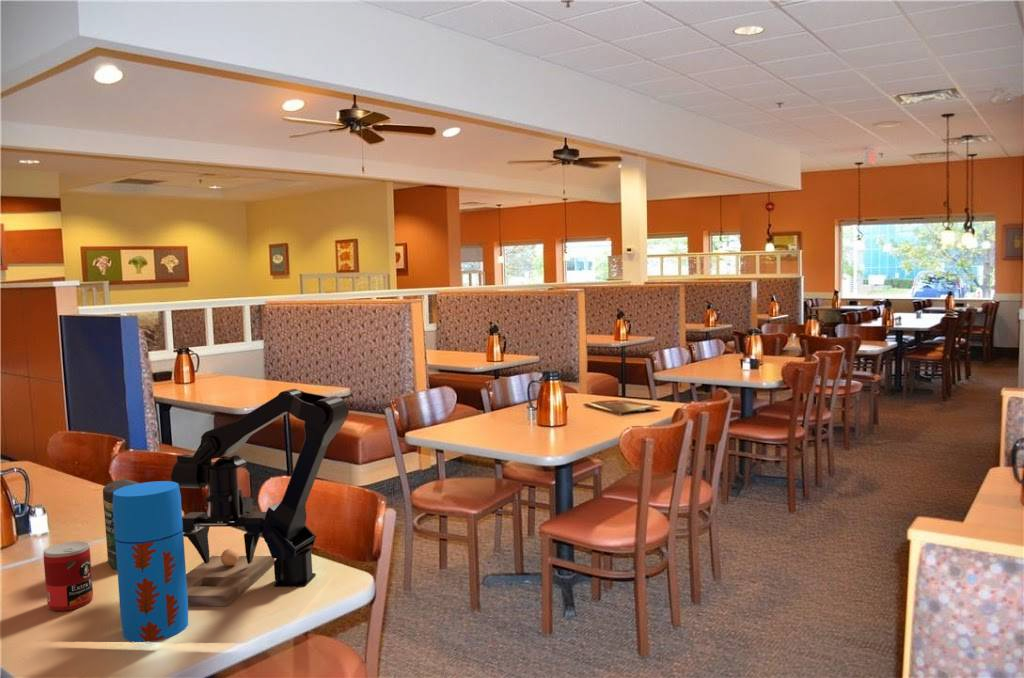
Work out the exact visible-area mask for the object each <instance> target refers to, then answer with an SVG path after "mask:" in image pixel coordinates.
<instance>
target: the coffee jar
mask: <svg viewBox="0 0 1024 678" xmlns="http://www.w3.org/2000/svg"><path fill="white" fill-rule="evenodd" d="M139 483H140V482H138V481H134V480H132V479H129V478H124V479H118V480H114V481H113V480H112V481H109V482H108V483H107V484H106V485H105V486H103V488H102V504H103V512H104V513H103V514H104V526H105V538H106V551H107V563H108V565H109V567H110V568H112V569H113V570H116V571H117V559H116V546H115V532H114V518H113V505H112V504H113V492H114V491H115V490H117V489H119V488H122V487H125V486H129V485H133V484H139Z"/></svg>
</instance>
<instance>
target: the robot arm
mask: <svg viewBox="0 0 1024 678" xmlns="http://www.w3.org/2000/svg"><path fill="white" fill-rule="evenodd" d="M349 411H350V410H349V407H348V405H347V403H346V402H345V400H344V399H342V398H341V397H340V396H335V395H333V396H326V395H323V394H316V393H312V392H306V391H304V390H299V389H297V388H292V389H287V390H283V391H281V392H279V393H278V395H276V396H274V397H272V398H271V399H270V400H268V401H266V402H264V403H263V404H261V405H260V406H258V407H257V408H255V409H253V410H252V411H250V412H249V413H247V414H245V415H243V416H242V417H240V418H238V419H237V420H235V421H232V422H230V423H227V424H223V425H221V426H218V427H215V428H212V429H209V430H207V431H205V432H204V433H203V434H202V435H201V437H200V444H199V446H198V448H197V449H196V450H195V453H194V454H193V455H192V454H188V453H186V454H185V453H183V454H182V453H181V454H179V455H177V456H176V459H177V460H176V462H175V464H174V466H173V468H172V471H171V474H170V478H171V479H170V480H171V482H176V483H178V484H179V488H185V489H187V488H189V489H203V488H206V487H207V486H208V496H206V497H205V499H206V503H209V511H210V513H209V514H210V515H208V514H207V512H205V511H190V512H188V513H187V514H184V515H182V522H183V537H185V538H187V539H188V540H189V542H191V544H192V546H194V548H195V549H196V552H197V553H198V554H199V556H200V557H201V559H202V561H203V562H205V564H207V563H209V558H210V546H209V544H210V543H209V531H210V528H211V527H214V528H215V527H216V528H219V527H229V528H231V527H233V528H234V527H235V528H237V527H238V528H239V527H240V528H243V527H244V530H245V531H246V532H245V533H244V534H243V540H244V549H245V556H246V559H247V563H248V564H250V563H251V562H252V559H253V556H255V552H256V549H257V546H258V543H259V540H260V537H262V538H263V539H264V542H265V543H266V545H267V548H268V550H269V553H270V556H272V558H275V561H274V565H273V568H274V569H273V572H274V581H275V583H274V584H273V587H274V588H304V587H307V585H309V583H311V581H312V580H313V579H315V578H316V576H317V574H316V573H315V572H314V573H313V560H312V558H313V557H312V547H314V545H315V543H316V541H317V540H316V539H317V535H316V534H315V533H314V532H313V531H312V530H311V529H310V528H309V527H308V526H307V525H306V522H307V509H306V504H307V501H308V499H309V496H310V493H311V491H312V488H313V486H314V482H315V481H316V479H317V475H318V473H319V470H320V468H321V465H322V461H323V459H324V457H325V455H326V451H327V449H328V446H329V444H330V442H331V441H332V440H333V439H334V438H335V436H337V434H338V432H339V431H340V430H341V429H342V427H343V425H344V423H345V422H346V420H347V418H348V416H349ZM287 414H290V415H292V416H293V417H295V418H296V419H298V420H300V421H303V422H304V423H303V428H304V437H305V438H304V440H303V444H302V446H301V449H300V452H299V454H298V457H297V459H296V462H295V465H294V468H293V470H292V474H291V476H290V479H289V482H288V484H287V487H286V489H285V491H284V494H283V497H282V499H281V501H279V502H277V503H275V504H273V505H271V506H269V507H267V510H266V511H254V512H252V511H253V510H252V509H253V498H252V497H247V496H243V491H242V489H239V476H238V475H239V474H238V469H239V468H241V467H244V466H247V460H244V458H242V457H240V455H239V454H235V455H232V456H230V458H227V457H224V456H226V455H230V454H232V453H236V451H237V450H239V449H240V448H241V447H242V446H243V445H244V444H245V443H247V441H248V440H249V438H250V437H251V436H252V435H253V434H255V433H257V432H259V431H261V430H262V429H264V428H265V427H267V426H268V425H270V424H271V423H273V422H276V421H277V420H279V419H280V418H282V417H283V416H285V415H287ZM217 458H218V459H217ZM214 459H216V460H215V461H212V460H214ZM245 514H250V515H248V516H243V515H245Z"/></svg>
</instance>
